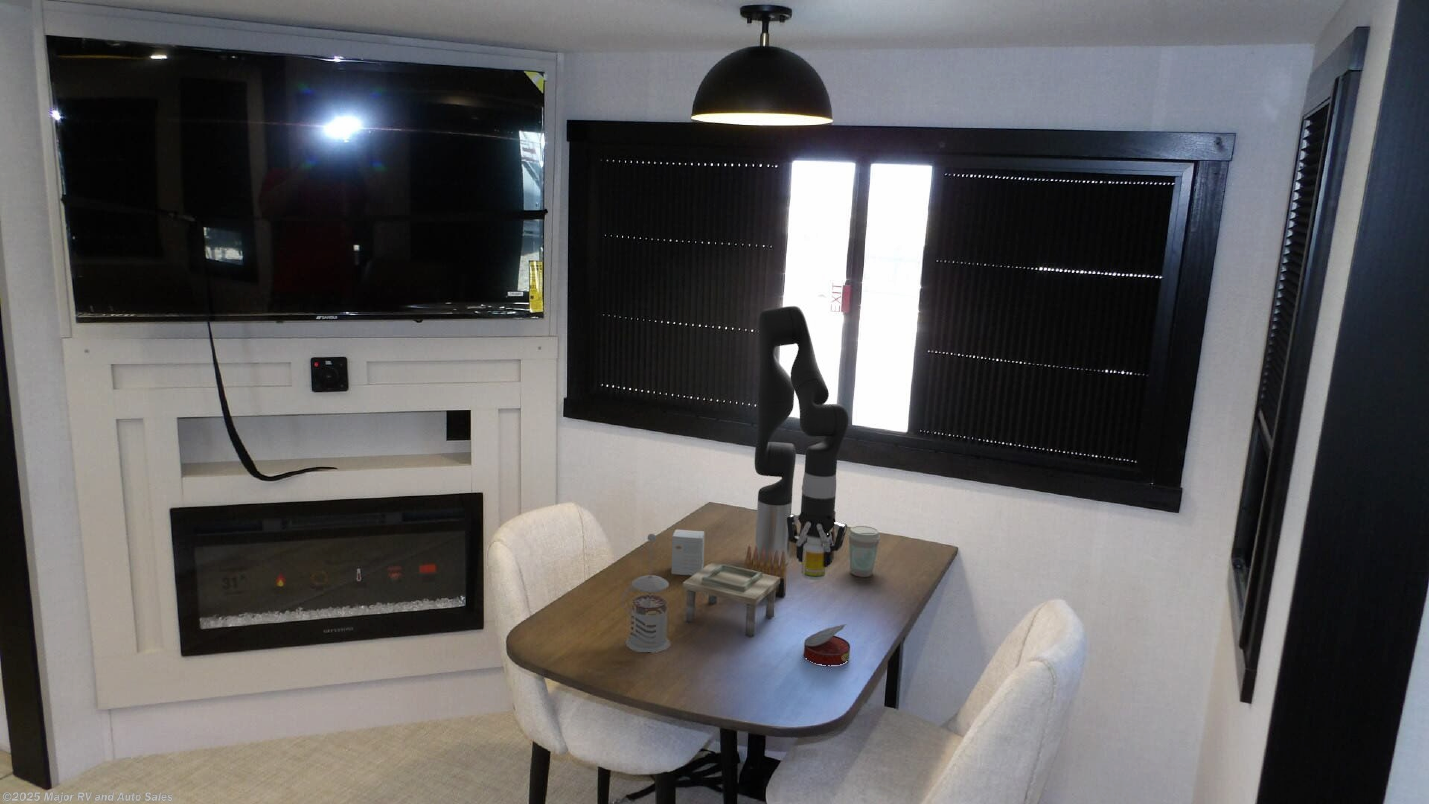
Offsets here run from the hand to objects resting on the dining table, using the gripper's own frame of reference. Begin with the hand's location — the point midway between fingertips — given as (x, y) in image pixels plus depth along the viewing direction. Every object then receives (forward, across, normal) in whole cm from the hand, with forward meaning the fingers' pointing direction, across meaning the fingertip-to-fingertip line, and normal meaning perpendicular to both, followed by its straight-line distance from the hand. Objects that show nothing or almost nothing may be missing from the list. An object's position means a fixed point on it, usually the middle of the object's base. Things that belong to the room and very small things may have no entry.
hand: (813, 563), depth 218 cm
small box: (+17, +40, -17) cm, 46 cm away
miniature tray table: (+16, +18, +4) cm, 24 cm away
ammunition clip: (+16, +17, -14) cm, 27 cm away
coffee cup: (+17, 0, -41) cm, 44 cm away
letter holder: (+17, +18, -55) cm, 60 cm away
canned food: (+16, -8, +11) cm, 21 cm away
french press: (+16, +29, +25) cm, 42 cm away
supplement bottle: (+3, 0, 0) cm, 3 cm away
